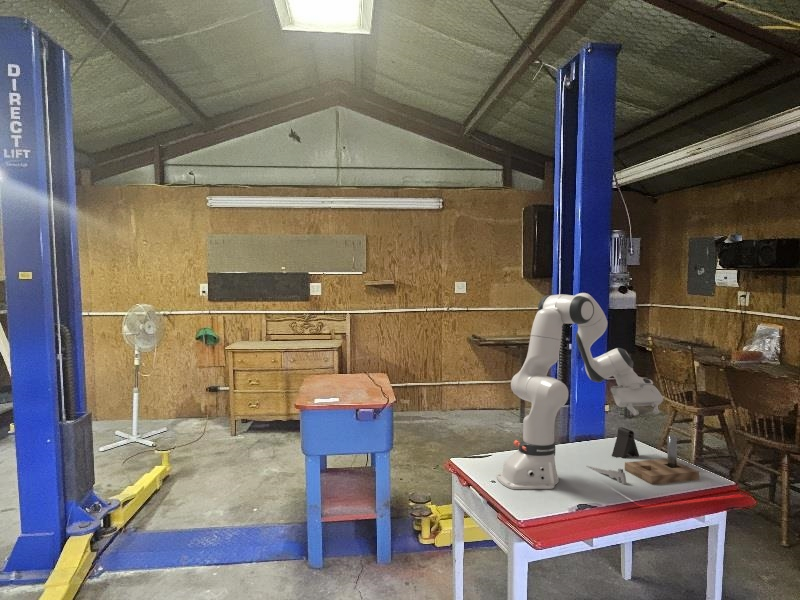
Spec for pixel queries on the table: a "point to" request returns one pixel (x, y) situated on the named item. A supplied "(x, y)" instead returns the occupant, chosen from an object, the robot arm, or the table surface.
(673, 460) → the peg
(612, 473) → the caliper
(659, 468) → the hole block
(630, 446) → the black a-frame stand
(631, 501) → the table surface
